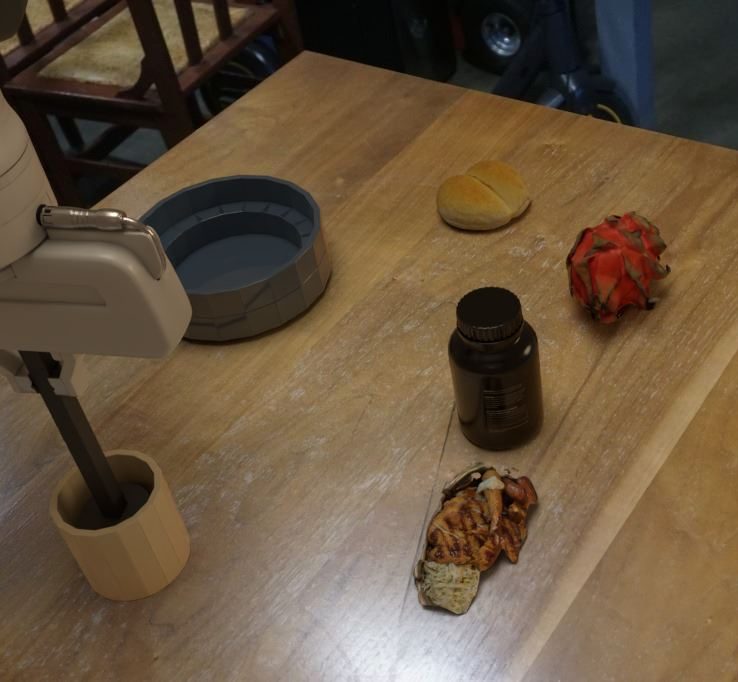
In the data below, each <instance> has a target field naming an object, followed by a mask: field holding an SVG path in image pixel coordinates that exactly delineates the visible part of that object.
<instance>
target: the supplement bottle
mask: <svg viewBox="0 0 738 682" xmlns="http://www.w3.org/2000/svg"><path fill="white" fill-rule="evenodd" d="M455 315H456V316H455V319H456V325H455V326H456V327H455V328H454V329H453V331H452V333H451V335H450V336H449V339H448V342H447V356H448V362H449V369H450V375H451V381H452V389H453V394H454V402H455V407H456V414H457V420H458V423H459V427H460V429H461V432H462V433H463V434H464V435H465V437H466V438H467V439H468V440H470V441H471V442H472V443H474V444H476V445H478V446H480V447H483V448H487V449H492V450H504V449H505V450H507V449H511V448H514V447H518V446H520V445H523V444H525V443H526V442H528V441H529V440H530V439H532V438H533V437H534V436H535V435H536V434H537V432H539V430H540V428H541V426H542V423H543V421H544V397H543V385H542V372H541V360H540V358H541V357H540V348H539V339H538V335H537V332H536V330H535V329H534V328H533V326H532V325H531V323H529V321H527V320H526V319H525V318H524V315H523V308H522V303H521V300H520V298H519V297H518V295H516V294H515V292H513V291H511V290H510V289H506V288H505V287H500V286H484V287H478V288H475V289H473V290H471V291H468V292H467V293H466V294H464V295H463V296H462V297H461V298H459V301H458V302H457V305H456V307H455Z"/></svg>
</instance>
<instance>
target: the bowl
mask: <svg viewBox="0 0 738 682" xmlns="http://www.w3.org/2000/svg"><path fill="white" fill-rule="evenodd" d="M137 220H138V221H139V222H141V223H143V224H144V225H146V226H150V227H151V228H153V229H154V230H155V232H156V233H157V235H158V237H159V239H160V242H161V245H162V247H163V250H164V253H165V254H166V256H167V258H168V259H169V261H170V263H171V264H172V266H173V268H174V270H175V272H176V274H177V276H178V278H179V280H180V282H181V284H182V286H183V288H184V290H185V292H186V294H187V297H188V299H189V302H190V304H191V308H192V316H191V320H190V322H189V325H188V327H187V329H186V331H185V333H184V335H183V337H184V338H186V339H188V340H189V339H190V340H196V341H197V340H198V341H216V342H225V341H229V340H230V341H231V340H237V339H243V338H249V337H250V338H251V337H254V336H256V335H259V334H262V333H265V332H267V331H270V330H273V329H275V328H278V327H281V326H282V325H284V324H285V323H287V322H288V321H290V320H292V319H293V318H295V317H296V316H298V315H299V314H301V313H303V312H305V311H306V310H307V309H308V308H309V307H310V306H311V305H312V303H313V302H314V301H315V300H316V299H318V297H319V296H320V295H321V294H322V293H323V292H324V290H325V288H326V286H327V282H328V280H329V278H330V275H331V273H332V263H331V251H330V247H329V242H328V239H327V233H326V230H325V225H324V221H323V217H322V212H321V208H320V206H319V204H318V203H317V202H316V200H315V198H314V197H313V196H312V194H311V193H310V192H309V191H308V190H306V189H304V188H303V187H301V186H299V185H298V184H296V183H294V182H293V181H291V180H287V179H283V178H279V177H275V176H271V175H265V174H264V175H263V174H261V175H260V174H233V175H227V176H221V177H214V178H209V179H206V180H204V181H201V182H198V183H195V184H191V185H189V186H185V187H182V188H181V189H179V190H177V191H174V192H173V193H171V194H169V195H168V196H166V197H164V198H162V199H160V200H159V201H157V202H156V203H155V204H154V205H153V206H151V207H150V209H148V210H147V211H146V212H145V213H144V214H142V215H141V216H140V217H139V219H137ZM183 337H182V338H183Z"/></svg>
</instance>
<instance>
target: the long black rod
mask: <svg viewBox="0 0 738 682" xmlns="http://www.w3.org/2000/svg"><path fill="white" fill-rule="evenodd" d="M18 352H19V354H20V356H21V358H22V360H23V362H24V364H25V366H26V368H27V370H28V372H29V373H30V375H31V377H32V379H33V381H34V383H35V385H36V387H37V389H38V391H39V393H40V394H39V395H40V397H41V399H42V401H43V403H44V405H45V407H46V408H47V410H48V412H49V414H50V417H51V419H52V420H53V422H54V424H55V426H56V427H57V430H58V432H59V434H60V436H61V437H62V439H63V442H64V444H65V445H66V447H67V449H68V451H69V453H70V455H71V457H72V459H73V461H74V463H75V465H77V467H78V468H79V470H80V472H81V474H82V476H83V478H84V480H85V482H86V484H87V486H88V488H89V490H90V492H91V494H92V497H91V498H90V499H89V500H88V502H87V503H86V504H85V506H84V508H83V510H82V513H81V518H80V521H81V526H82V528H83V529H84V530H99V529H103V528H108V527H112V526H116V525H117V524H119V523H121V522H123V521H125V520H127V519H128V518H130V517H132V516H134V515H135V514H136V513H137V512H138V511H139V510H140V509H141V508H142V507H143V506H144V505H145V504H146V503H147V501H148V499H149V497H150V495H149V493H148V492H147V490H145V489H144V488H143V487H141V486H139V485H136V484H132V483H120V484H118V482H117V480H116V478H115V475H114V473H113V471H112V469H111V467H110V465H109V463H108V461H107V459H106V457H105V455H104V453H103V452H104V451H103V449H102V447H101V444H100V443H99V441H98V439H97V436H96V434H95V432H94V430H93V429H92V426H91V424H90V422H89V420H88V418H87V416H86V414H85V411H84V410H83V407H82V405H81V403H80V400H79V399H78V397H71V396H60V395H56V394H55V392H54V389H55V388H53V387H52V386H51V385H50V383H49V380H48V376H49V375H50V374H51V372H52V370H54V369H55V368H56V364H57V362H58V361H57V360H54V359H53V357H52V355H51V353H50V352H38V351H22V350H18Z"/></svg>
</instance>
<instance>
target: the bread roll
mask: <svg viewBox="0 0 738 682" xmlns="http://www.w3.org/2000/svg"><path fill="white" fill-rule="evenodd" d="M531 200H532V197H531V193H530V190H529V186H528V185H527V183H526V181H525V179H524V177H523V175H521V173H520V172H519V171H518V170H516V169H515V168H514V167H513V166H511V165H510V164H508V163H506V162H504V161H500V160H482V161H479V162H476V163H475V164H474V163H473V165H472V166H470V167H469V168H468V169H467V170H466V171H465V173H464V174H457V175H453V176H450V177H448V178H446V179H444V181H443V182H442V183H441V184H440V185H439V187H438V190H437V192H436V201H435V202H436V206H437V210H438V213H439V215H440V216H441V218H442V219H443V221H445V222H446V223H447V224H448V225H451V226H453V227H456V228H458V229H461V230H471V231H490V230H493V229H494V230H495V229H498V228H500V227H502V226H505V225H506V224H508V223H509V222H510V221H511V220H512V219H513V218H517V217H519V216H520V215H521V214H523V213H524V211H525V210H527V208H528V206H529V204H530V203H531Z"/></svg>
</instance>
